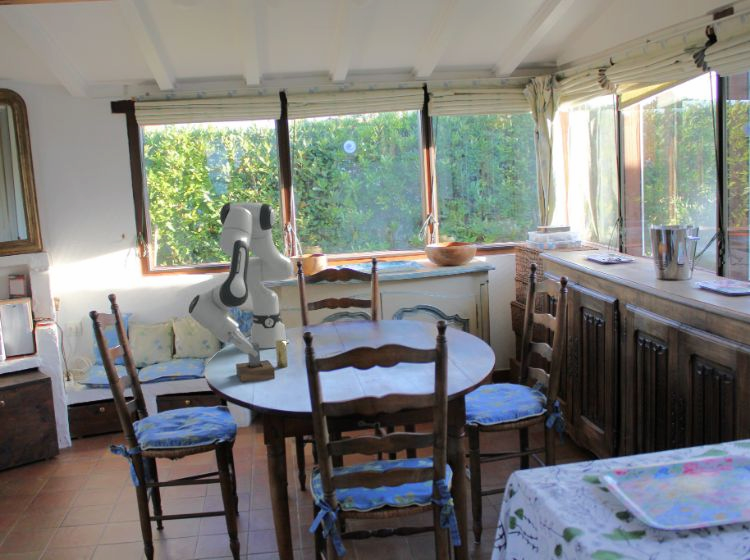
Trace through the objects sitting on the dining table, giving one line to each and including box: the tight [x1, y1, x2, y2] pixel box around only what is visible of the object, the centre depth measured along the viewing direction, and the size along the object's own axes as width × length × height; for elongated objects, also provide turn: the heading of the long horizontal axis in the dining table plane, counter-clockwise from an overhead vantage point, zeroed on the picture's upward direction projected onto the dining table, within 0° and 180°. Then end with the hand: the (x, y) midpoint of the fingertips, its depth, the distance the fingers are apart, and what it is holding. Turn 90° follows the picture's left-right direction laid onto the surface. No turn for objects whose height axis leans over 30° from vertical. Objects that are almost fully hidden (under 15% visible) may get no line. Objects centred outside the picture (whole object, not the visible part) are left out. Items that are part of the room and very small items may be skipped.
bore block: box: [235, 359, 276, 383], centre depth 266 cm, size 12×12×4 cm
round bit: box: [275, 340, 289, 369], centre depth 278 cm, size 4×4×10 cm
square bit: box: [247, 343, 261, 368], centre depth 265 cm, size 4×4×10 cm
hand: (255, 353), depth 265 cm, fingers closed on square bit, 4 cm apart
